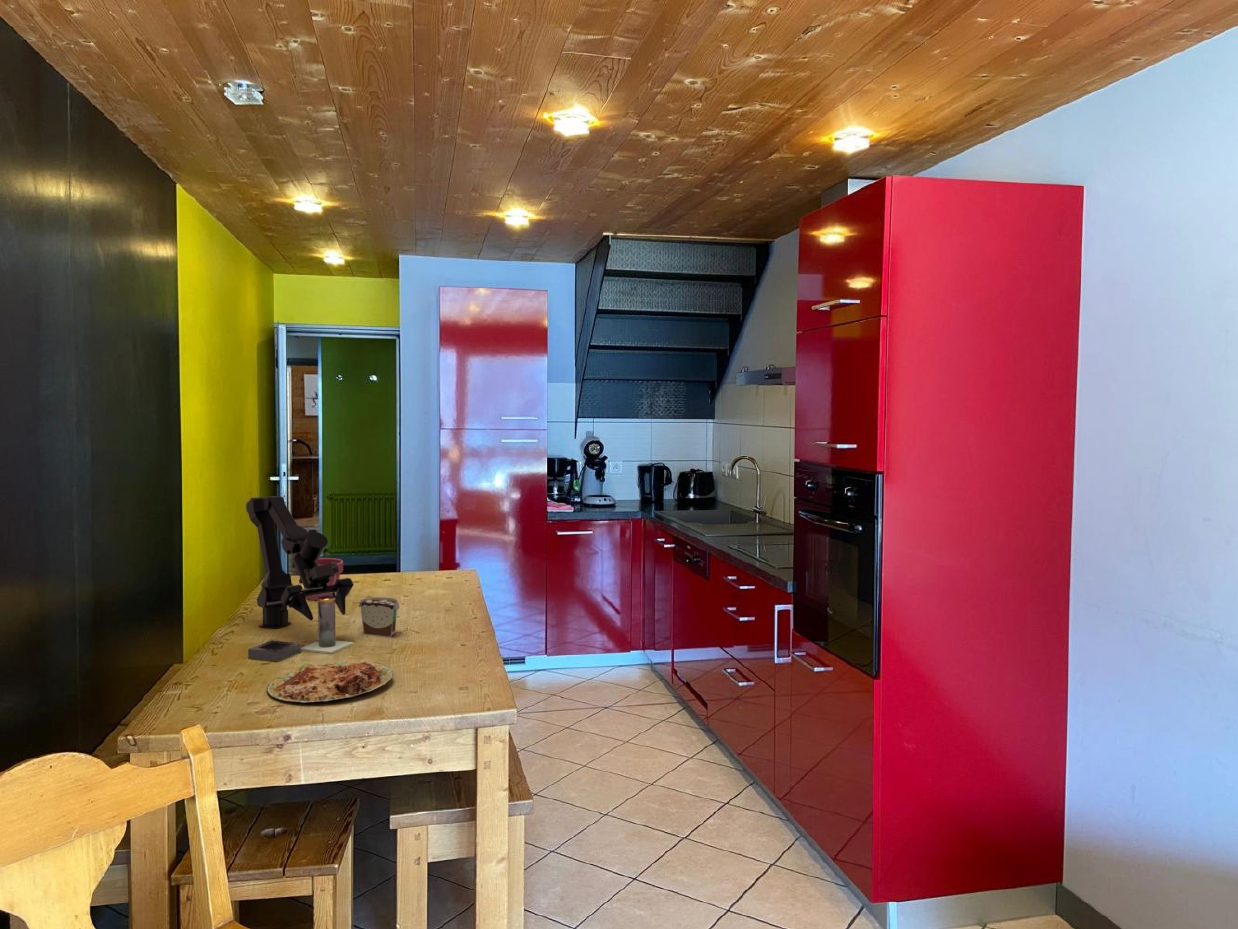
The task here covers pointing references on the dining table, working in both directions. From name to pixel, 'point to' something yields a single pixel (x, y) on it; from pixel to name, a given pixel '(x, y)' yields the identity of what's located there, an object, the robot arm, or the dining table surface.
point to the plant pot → (332, 579)
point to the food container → (379, 616)
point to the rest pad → (315, 647)
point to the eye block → (274, 650)
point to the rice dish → (329, 681)
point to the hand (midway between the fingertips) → (328, 616)
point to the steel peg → (326, 621)
